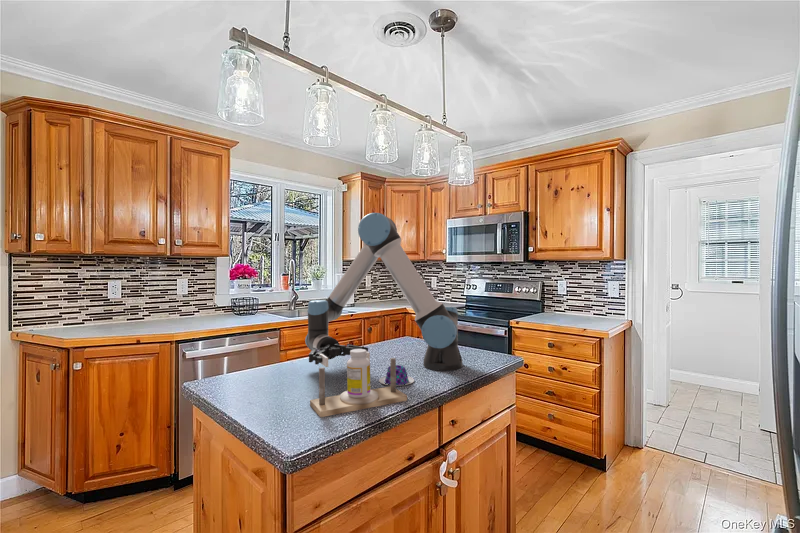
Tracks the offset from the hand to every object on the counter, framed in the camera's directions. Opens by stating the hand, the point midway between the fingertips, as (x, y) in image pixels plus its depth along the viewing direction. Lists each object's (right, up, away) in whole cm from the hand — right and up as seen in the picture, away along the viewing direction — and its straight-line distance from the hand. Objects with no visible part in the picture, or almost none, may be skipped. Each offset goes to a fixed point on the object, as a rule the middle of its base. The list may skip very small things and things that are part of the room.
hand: (348, 359), depth 122 cm
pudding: (+15, -11, +13) cm, 22 cm away
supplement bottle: (+4, -8, -8) cm, 12 cm away
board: (+4, -11, -8) cm, 14 cm away
